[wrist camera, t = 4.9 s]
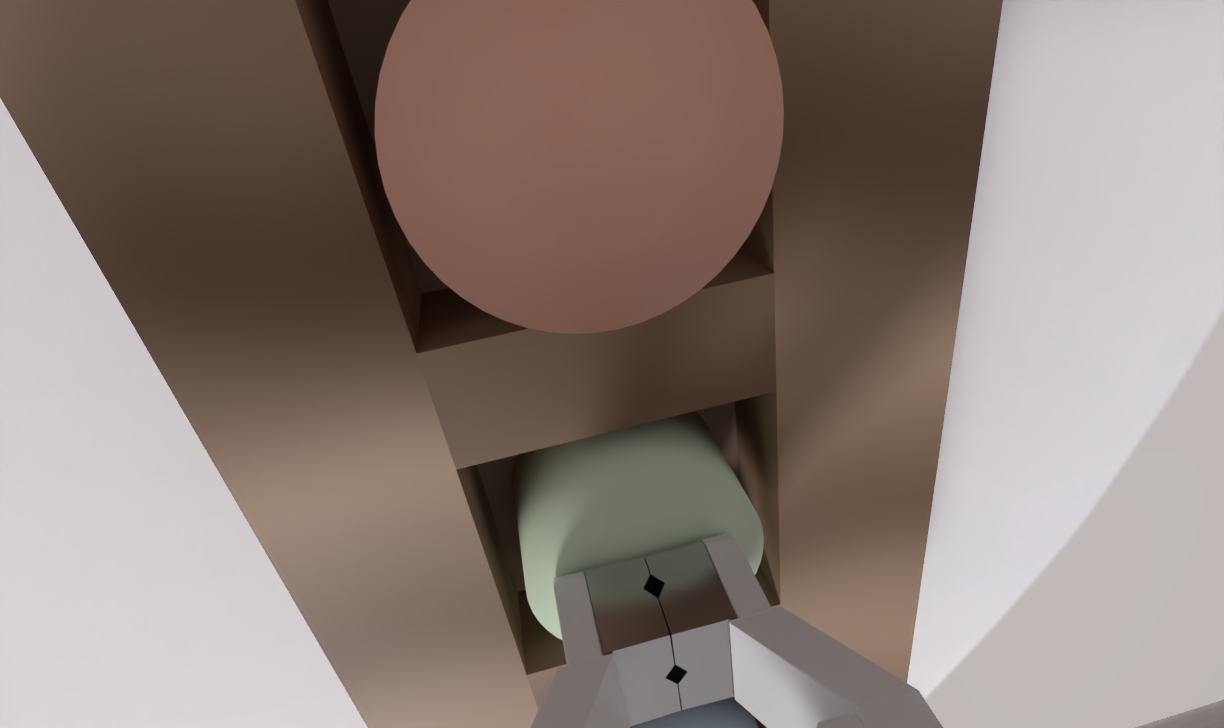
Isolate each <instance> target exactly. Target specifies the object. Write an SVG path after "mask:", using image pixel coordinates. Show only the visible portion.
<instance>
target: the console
mask: <svg viewBox="0 0 1224 728" xmlns="http://www.w3.org/2000/svg"><path fill="white" fill-rule="evenodd" d="M410 1H411V0H0V98H1V99H2V101H3V103H4V105H5V106H6V108H7V110H8V111H9V113H10V115H11V117H12V118H13V120H14V122H15V123H16V125H17V127H18V129H19V130H20V132H21V134H22V135H23V137H24V139H25V141H26V142H27V144H28V146H29V147H30V149H31V151H32V153H33V154H34V156H35V158H36V159H37V161H38V163H39V165H40V166H41V168H42V170H43V171H44V173H45V175H46V177H47V178H48V180H49V182H50V183H51V185H52V187H53V189H54V190H55V192H56V194H57V195H58V197H59V199H60V201H61V202H62V204H63V206H64V207H65V209H66V211H67V213H68V214H69V216H70V218H71V219H72V221H73V223H74V225H75V226H76V228H77V230H78V231H79V233H80V235H81V237H82V238H83V240H84V242H85V243H86V245H87V247H88V249H89V250H90V252H91V254H92V255H93V257H94V259H95V261H96V262H97V264H98V266H99V267H100V269H101V271H102V273H103V274H104V276H105V278H106V279H107V281H108V283H109V285H110V286H111V288H112V290H113V291H114V293H115V295H116V297H117V298H118V300H119V302H120V303H121V305H122V307H123V309H124V310H125V312H126V314H127V315H128V317H129V319H130V321H131V322H132V324H133V326H134V327H135V329H136V331H137V333H138V334H139V336H140V338H141V339H142V341H143V343H144V345H145V346H146V348H147V350H148V351H149V353H150V355H151V357H152V358H153V360H154V362H155V363H156V365H157V367H158V369H159V370H160V372H161V374H162V375H163V377H164V379H165V381H166V382H167V384H168V386H169V387H170V389H171V391H172V393H173V394H174V396H175V398H176V399H177V401H178V403H179V405H180V406H181V408H182V410H183V411H184V413H185V415H186V417H187V418H188V420H189V422H190V423H191V425H192V427H193V429H194V430H195V432H196V434H197V435H198V437H199V439H200V441H201V442H202V444H203V446H204V447H205V449H206V451H207V453H208V454H209V456H210V458H211V459H212V461H213V463H214V465H215V466H216V468H217V470H218V471H219V473H220V475H221V477H222V478H223V480H224V482H225V483H226V485H227V487H228V489H229V490H230V492H231V494H232V495H233V497H234V499H235V501H236V502H237V504H238V506H239V507H240V509H241V511H242V513H243V514H244V516H245V518H246V519H247V521H248V523H249V525H250V526H251V528H252V530H253V531H254V533H255V535H256V537H257V538H258V540H259V542H260V543H261V545H262V547H263V549H264V550H265V552H266V554H267V555H268V557H269V559H270V561H271V562H272V564H273V566H274V567H275V569H276V571H277V573H278V574H279V576H280V578H281V579H282V581H283V583H284V585H285V586H286V588H287V590H288V591H289V593H290V595H291V597H292V598H293V600H294V602H295V603H296V605H297V607H298V609H299V610H300V612H301V614H302V615H303V617H304V619H305V621H306V622H307V624H308V626H309V627H310V629H311V631H312V633H313V634H314V636H315V638H316V639H317V641H318V643H319V645H320V646H321V648H322V650H323V651H324V653H325V655H326V657H327V658H328V660H329V662H330V663H331V665H332V667H333V669H334V670H335V672H336V674H337V675H338V677H339V679H340V681H341V682H342V684H343V686H344V687H345V689H346V691H347V693H348V694H349V696H350V698H351V699H352V701H353V703H354V705H355V706H356V708H357V710H358V711H359V713H360V715H361V717H362V718H363V720H364V722H365V723H366V725H367V727H368V728H531V725H532V723H533V721H534V719H535V717H536V715H537V712H538V710H539V708H540V706H541V704H542V701H543V699H544V697H545V695H546V693H547V691H548V688H549V686H550V684H551V682H552V680H553V677H554V675H555V673H556V671H557V669H558V668H560V667H564V666H567V664H566V658H565V652H564V646H563V640H561V639H559V638H557V637H556V636H554V635H553V634H552V633H550V632H549V631H548V630H546V629H545V628H544V627H543V626H542V624H541V623H540V622H539V621H538V620H537V618H536V617H535V615H534V614H533V612H532V610H531V607H530V605H529V603H528V599H527V594H526V588H525V580H524V572H523V564H522V556H521V548H520V540H519V532H518V524H517V516H516V508H515V500H514V492H513V474H514V467H515V463H516V460H517V457H518V454H522V453H526V452H530V451H534V450H538V449H542V448H546V447H551V446H555V445H559V444H563V443H567V442H571V441H575V440H579V439H583V438H587V437H591V436H595V435H600V434H604V433H608V432H612V431H616V430H620V429H624V428H628V427H632V426H636V425H640V424H645V423H649V422H653V421H657V420H661V419H665V418H669V417H673V416H677V415H681V414H685V413H689V412H694V411H697V412H698V414H699V415H700V416H701V417H702V419H703V420H704V422H705V423H706V425H707V427H708V429H709V430H710V432H711V434H712V436H713V437H714V439H715V441H716V442H717V444H718V446H719V448H720V449H721V451H722V453H723V455H724V456H725V458H726V460H727V462H728V463H729V465H730V467H731V469H732V470H733V472H734V474H735V475H736V477H737V479H738V481H739V482H740V484H741V486H742V488H743V489H744V491H745V493H746V495H747V496H748V498H749V500H750V502H751V503H752V505H753V507H754V509H755V510H756V512H757V514H758V516H759V518H760V521H761V524H762V528H763V536H764V546H763V554H762V558H761V562H760V565H759V567H758V570H757V573H756V575H755V577H756V579H757V580H758V582H759V584H760V586H761V588H762V590H763V592H764V594H765V596H766V598H767V600H768V602H769V604H770V606H771V608H772V609H774V608H778V607H782V608H784V609H786V610H787V611H789V612H790V613H792V614H794V615H795V616H797V617H799V618H800V619H802V620H804V621H805V622H807V623H808V624H810V625H812V626H813V627H815V628H817V629H818V630H820V631H822V632H823V633H825V634H827V635H828V636H830V637H831V638H833V639H835V640H836V641H838V642H840V643H841V644H843V645H845V646H846V647H848V648H850V649H851V650H853V651H854V652H856V653H858V654H859V655H861V656H863V657H864V658H866V659H868V660H869V661H871V662H873V663H874V664H876V665H877V666H879V667H881V668H882V669H884V670H886V671H887V672H889V673H891V674H892V675H894V676H895V677H897V678H899V679H900V680H902V681H904V682H905V683H907V678H908V671H909V664H910V656H911V649H912V642H913V635H914V628H915V621H916V614H917V607H918V600H919V592H920V585H921V578H922V571H923V564H924V557H925V550H926V543H927V535H928V528H929V521H930V514H931V507H932V500H933V493H934V486H935V478H936V471H937V464H938V457H939V450H940V443H941V436H942V429H943V422H944V414H945V407H946V400H947V393H948V386H949V379H950V372H951V365H952V357H953V350H954V343H955V336H956V329H957V322H958V315H959V308H960V301H961V293H962V286H963V279H964V272H965V265H966V258H967V251H968V244H969V236H970V229H971V222H972V215H973V208H974V201H975V194H976V187H977V180H978V172H979V165H980V158H981V151H982V144H983V137H984V130H985V123H986V115H987V108H988V101H989V94H990V87H991V80H992V73H993V66H994V59H995V51H996V44H997V37H998V30H999V23H1000V16H1001V9H1002V2H1003V0H752V1H753V2H754V4H755V5H756V7H757V9H758V11H759V13H760V16H761V18H762V20H763V22H764V24H765V26H766V28H767V30H768V33H769V36H770V39H771V42H772V45H773V48H774V51H775V54H776V57H777V61H778V67H779V72H780V77H781V82H782V91H783V105H784V122H783V140H782V146H781V152H780V158H779V164H778V168H777V171H776V175H775V178H774V182H773V185H772V188H771V191H770V194H769V196H768V198H767V201H766V203H765V206H764V208H763V211H762V213H761V215H760V217H759V218H758V220H757V222H756V224H755V226H754V227H753V229H752V231H751V233H750V235H749V236H748V238H747V239H746V240H745V242H744V243H743V245H742V246H741V247H740V249H739V250H738V252H737V253H736V255H735V256H734V257H733V258H732V259H731V260H730V261H729V262H728V264H727V265H726V266H725V267H724V268H723V269H722V270H721V271H720V273H719V274H717V275H716V276H715V277H714V278H713V279H712V280H711V281H710V282H709V283H707V284H706V285H705V286H704V287H703V288H702V289H701V290H699V291H698V292H696V293H695V294H694V295H692V296H691V297H689V298H688V299H687V300H685V301H684V302H682V303H681V304H679V305H677V306H675V307H674V308H672V309H670V310H668V311H666V312H665V313H663V314H661V315H658V316H656V317H653V318H651V319H649V320H646V321H644V322H642V323H638V324H635V325H631V326H628V327H625V328H621V329H617V330H611V331H605V332H599V333H585V334H565V333H551V332H545V331H540V330H535V329H529V328H525V327H522V326H519V325H516V324H513V323H510V322H507V321H504V320H502V319H500V318H497V317H495V316H493V315H491V314H489V313H487V312H485V311H482V310H481V309H479V308H478V307H476V306H474V305H473V304H471V303H470V302H468V301H466V300H465V299H463V298H462V297H460V296H459V295H458V294H457V293H456V292H454V291H453V290H452V289H451V288H449V287H448V286H447V285H446V284H445V283H443V282H442V281H441V280H440V279H439V278H438V277H437V276H436V275H435V273H434V272H433V271H432V270H431V269H430V268H429V267H428V266H427V265H426V264H425V263H424V262H423V260H422V259H421V258H420V256H419V255H418V253H417V252H416V251H415V249H414V248H413V247H412V245H411V244H410V243H409V241H408V239H407V238H406V236H405V234H404V232H403V230H402V229H401V227H400V225H399V223H398V221H397V220H396V218H395V215H394V213H393V210H392V208H391V205H390V203H389V200H388V198H387V195H386V193H385V189H384V185H383V181H382V177H381V173H380V169H379V165H378V159H377V150H376V142H375V101H376V95H377V88H378V81H379V75H380V71H381V67H382V64H383V60H384V57H385V54H386V50H387V47H388V44H389V41H390V39H391V37H392V35H393V32H394V30H395V28H396V26H397V24H398V21H399V19H400V17H401V15H402V13H403V12H404V10H405V8H406V7H407V5H408V4H409V2H410ZM754 718H755V717H754ZM755 720H756V723H757V725H758V728H767V727H766V726H764V725H763V724H762V723H761V722H760V721H759V720H758V719H757V718H755Z"/></svg>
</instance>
